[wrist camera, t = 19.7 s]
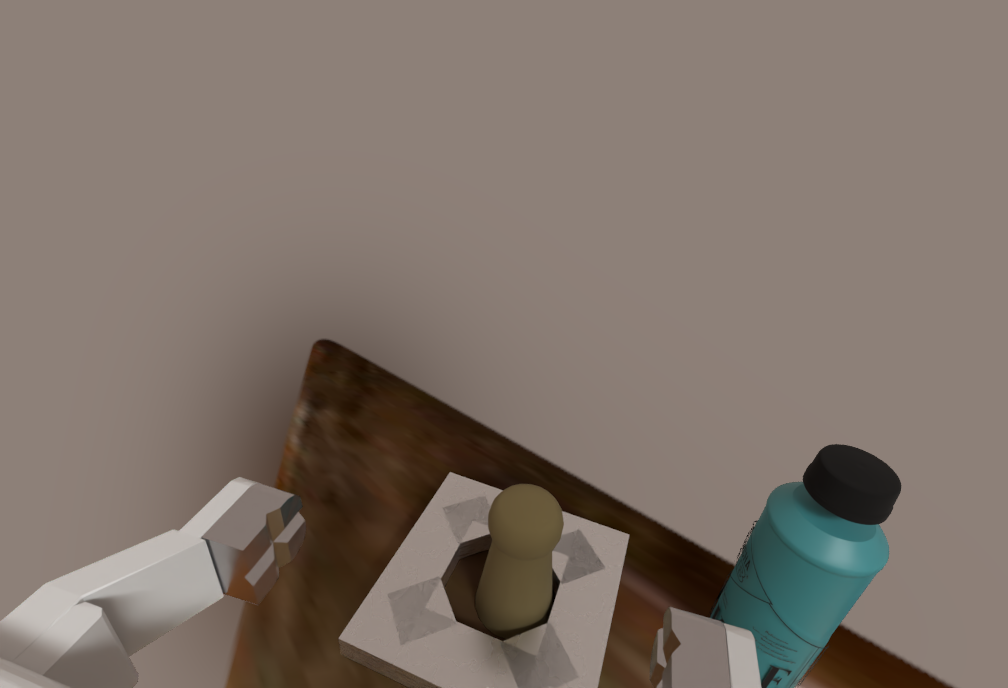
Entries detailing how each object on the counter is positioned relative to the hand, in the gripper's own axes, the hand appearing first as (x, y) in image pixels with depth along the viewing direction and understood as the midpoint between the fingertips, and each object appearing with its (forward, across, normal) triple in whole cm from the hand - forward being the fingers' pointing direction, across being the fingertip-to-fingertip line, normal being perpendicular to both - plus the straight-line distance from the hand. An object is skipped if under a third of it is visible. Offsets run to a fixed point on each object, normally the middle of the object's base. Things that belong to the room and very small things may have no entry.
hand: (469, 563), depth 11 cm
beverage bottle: (+18, -16, +28) cm, 37 cm away
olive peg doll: (+17, +1, +28) cm, 33 cm away
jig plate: (+17, +2, +28) cm, 33 cm away
